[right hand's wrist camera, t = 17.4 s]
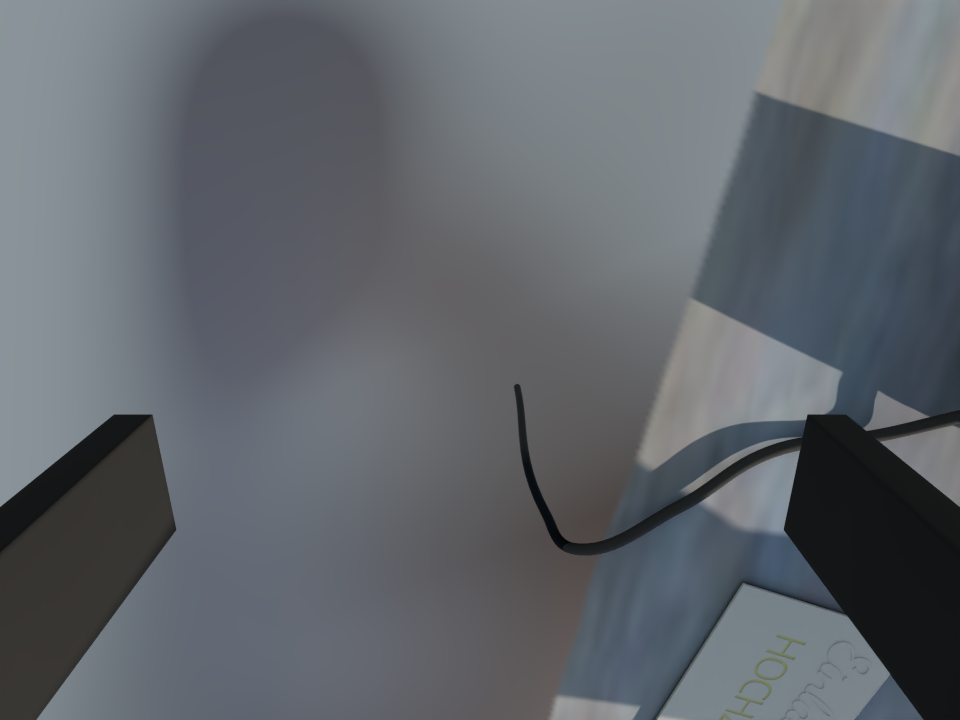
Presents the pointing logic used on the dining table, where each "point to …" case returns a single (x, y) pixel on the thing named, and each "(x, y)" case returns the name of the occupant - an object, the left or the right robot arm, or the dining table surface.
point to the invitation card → (777, 664)
